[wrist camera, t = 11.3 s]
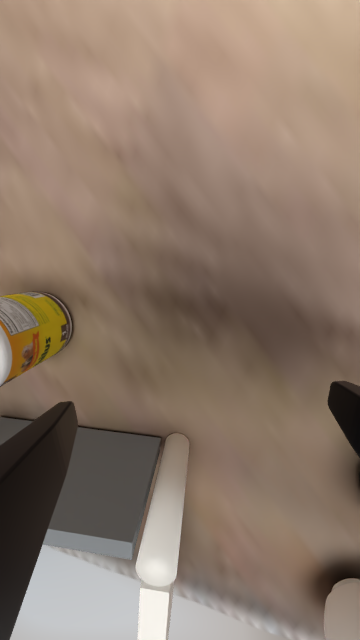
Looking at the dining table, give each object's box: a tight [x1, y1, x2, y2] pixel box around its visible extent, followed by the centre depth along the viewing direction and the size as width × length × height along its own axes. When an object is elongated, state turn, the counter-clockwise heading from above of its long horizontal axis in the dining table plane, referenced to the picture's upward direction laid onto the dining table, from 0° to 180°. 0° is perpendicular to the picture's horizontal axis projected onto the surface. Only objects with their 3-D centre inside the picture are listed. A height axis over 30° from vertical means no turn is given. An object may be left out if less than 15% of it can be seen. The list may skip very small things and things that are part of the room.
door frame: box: [136, 433, 190, 640], centre depth 20 cm, size 2×14×10 cm, turn 176°
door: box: [0, 417, 161, 560], centre depth 20 cm, size 16×3×9 cm, turn 86°
